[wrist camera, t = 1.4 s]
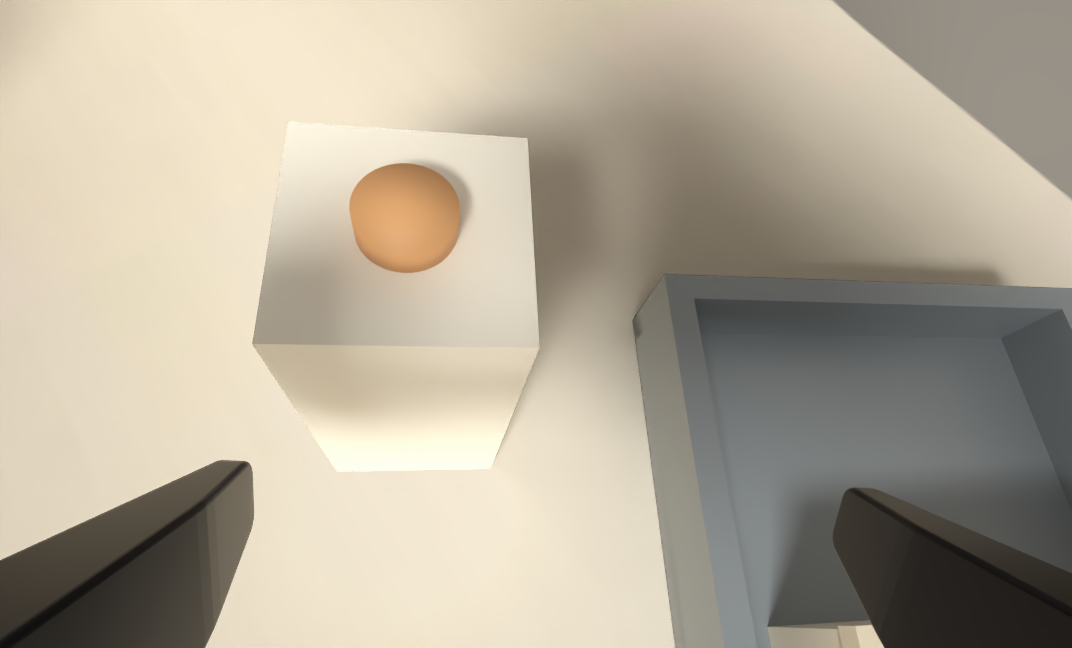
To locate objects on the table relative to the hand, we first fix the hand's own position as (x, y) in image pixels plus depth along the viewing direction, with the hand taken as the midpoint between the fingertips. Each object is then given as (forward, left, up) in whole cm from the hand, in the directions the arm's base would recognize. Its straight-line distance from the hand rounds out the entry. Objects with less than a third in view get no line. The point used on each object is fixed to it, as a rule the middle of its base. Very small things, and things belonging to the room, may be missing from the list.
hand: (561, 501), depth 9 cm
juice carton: (+6, +3, -14) cm, 15 cm away
